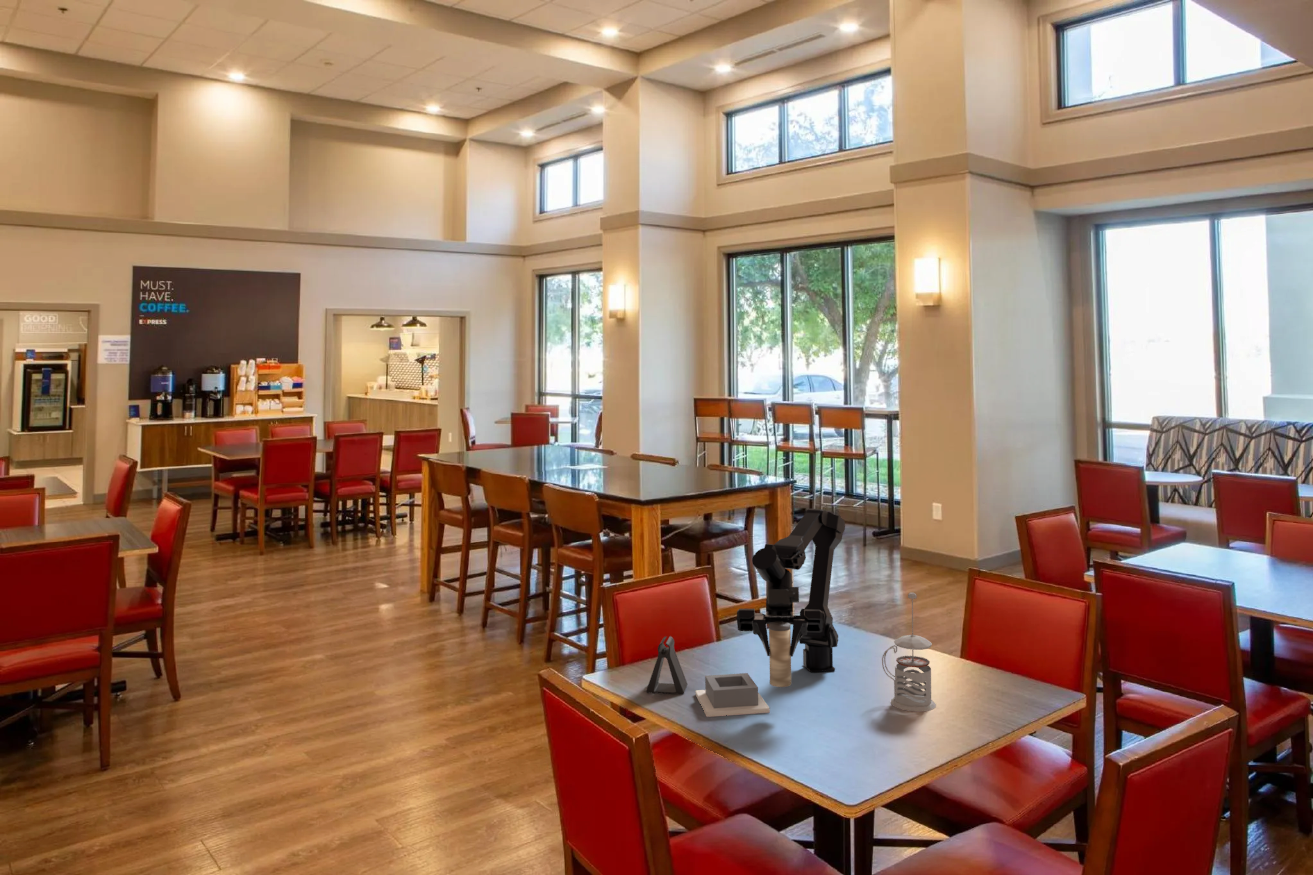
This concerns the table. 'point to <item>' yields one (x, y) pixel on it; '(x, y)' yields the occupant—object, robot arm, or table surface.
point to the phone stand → (675, 671)
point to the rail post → (780, 654)
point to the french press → (911, 674)
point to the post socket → (731, 696)
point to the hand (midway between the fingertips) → (779, 655)
